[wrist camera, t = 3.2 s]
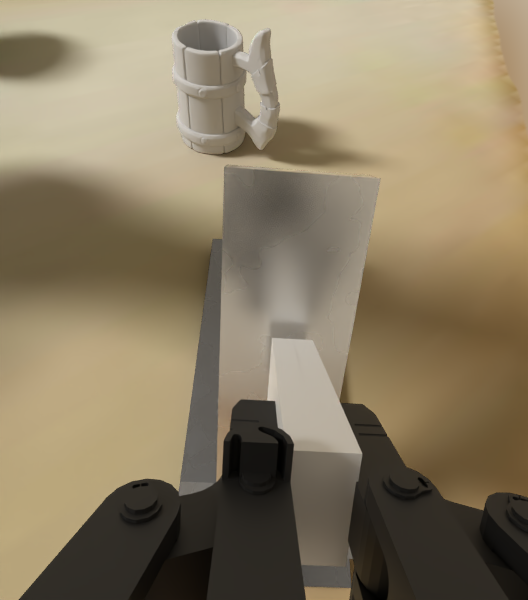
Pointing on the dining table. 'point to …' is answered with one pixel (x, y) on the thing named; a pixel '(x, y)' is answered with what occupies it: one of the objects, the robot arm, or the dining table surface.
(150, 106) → the dining table surface
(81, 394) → the dining table surface
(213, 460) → the base
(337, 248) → the white flat bar
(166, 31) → the dining table surface
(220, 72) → the mug
